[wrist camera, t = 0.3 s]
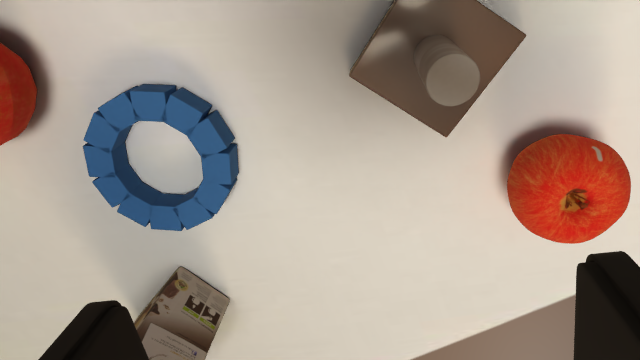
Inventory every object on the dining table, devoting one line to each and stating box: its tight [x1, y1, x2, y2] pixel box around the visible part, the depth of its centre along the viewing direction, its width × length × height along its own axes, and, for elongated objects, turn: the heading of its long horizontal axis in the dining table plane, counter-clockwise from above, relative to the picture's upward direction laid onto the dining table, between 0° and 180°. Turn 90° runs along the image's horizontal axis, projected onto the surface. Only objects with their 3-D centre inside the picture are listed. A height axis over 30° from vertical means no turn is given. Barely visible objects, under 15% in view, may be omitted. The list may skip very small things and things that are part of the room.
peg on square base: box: [349, 0, 526, 137], centre depth 30 cm, size 9×9×10 cm
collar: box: [83, 84, 239, 231], centre depth 39 cm, size 12×12×2 cm
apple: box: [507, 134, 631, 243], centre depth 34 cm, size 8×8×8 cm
